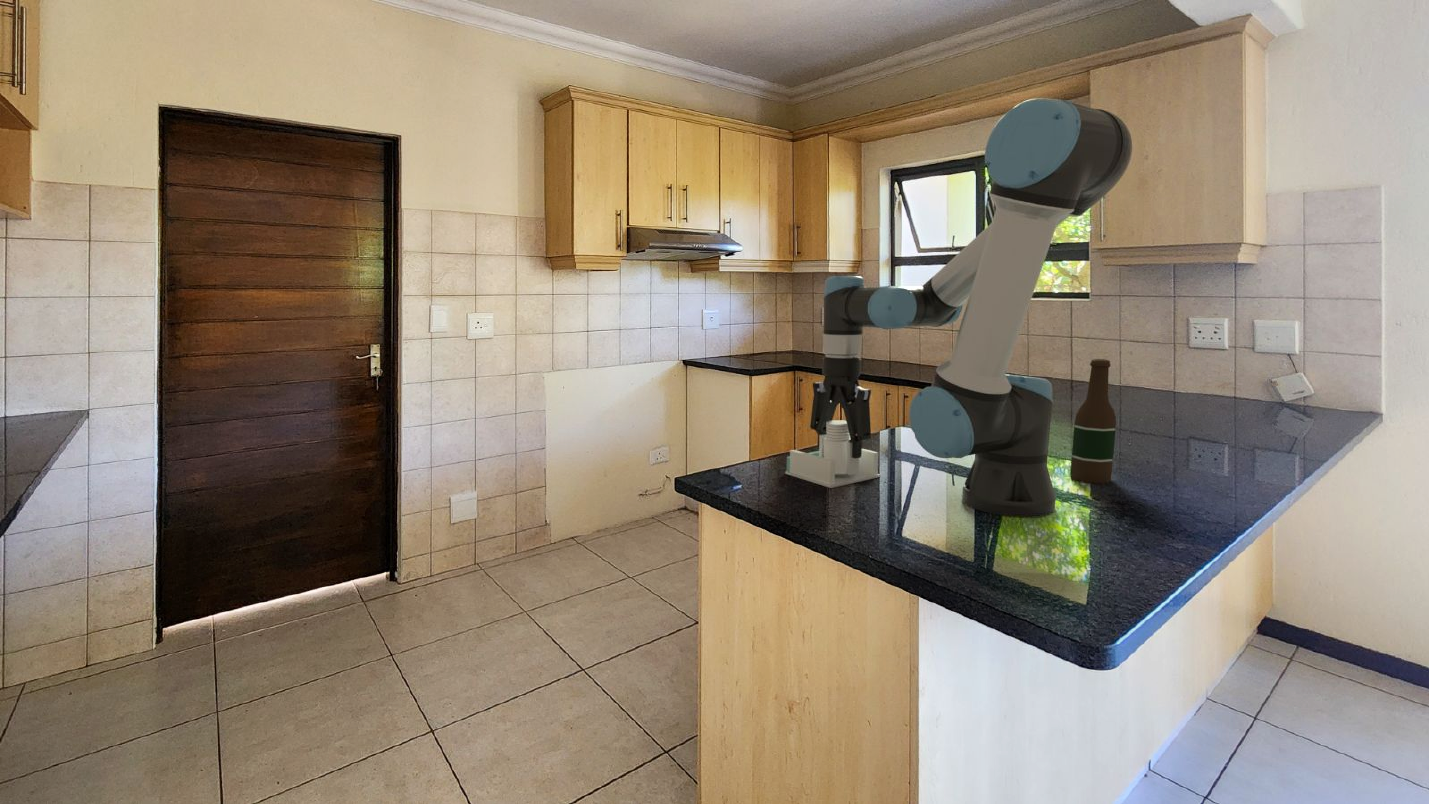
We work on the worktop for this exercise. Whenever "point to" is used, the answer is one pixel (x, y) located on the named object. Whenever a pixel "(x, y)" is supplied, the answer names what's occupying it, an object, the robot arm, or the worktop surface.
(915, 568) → the worktop surface
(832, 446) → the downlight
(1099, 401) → the beer bottle
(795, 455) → the holder
